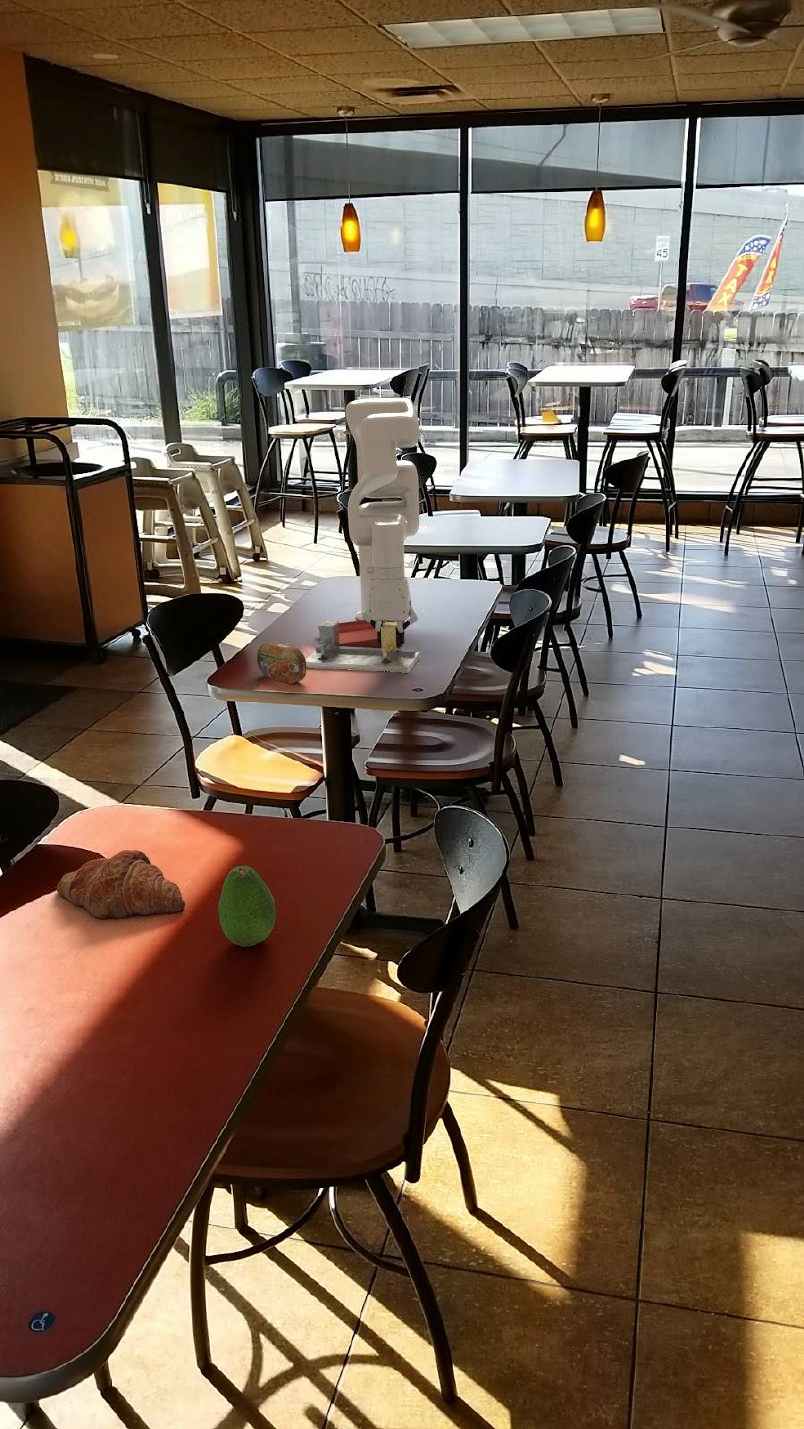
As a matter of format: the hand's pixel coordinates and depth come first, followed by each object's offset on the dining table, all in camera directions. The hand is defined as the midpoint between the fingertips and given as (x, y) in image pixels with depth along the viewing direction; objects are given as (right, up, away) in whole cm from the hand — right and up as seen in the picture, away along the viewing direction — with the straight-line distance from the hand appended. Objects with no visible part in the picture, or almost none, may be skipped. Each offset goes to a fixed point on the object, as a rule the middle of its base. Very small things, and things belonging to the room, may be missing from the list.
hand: (391, 645), depth 279 cm
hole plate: (-7, -4, 0) cm, 8 cm away
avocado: (-19, -49, -119) cm, 130 cm away
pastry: (-40, -45, -106) cm, 122 cm away
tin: (-25, -9, -10) cm, 28 cm away
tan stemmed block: (0, -2, -1) cm, 3 cm away
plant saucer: (-8, +2, +18) cm, 20 cm away
